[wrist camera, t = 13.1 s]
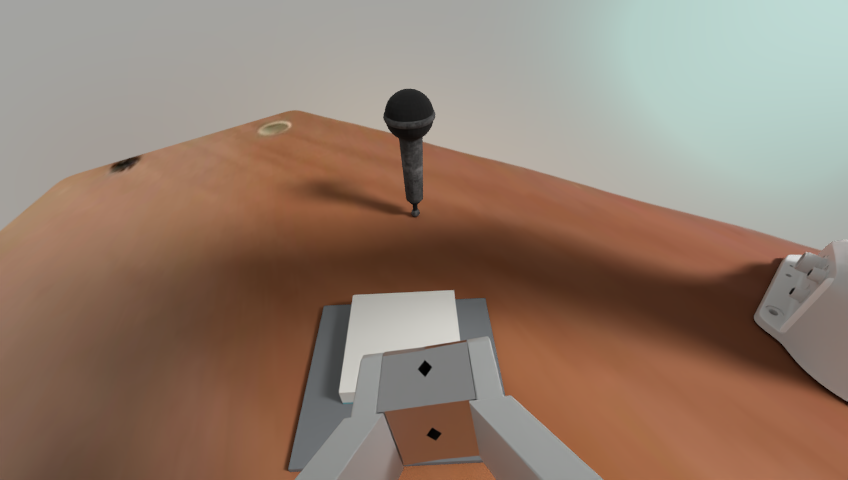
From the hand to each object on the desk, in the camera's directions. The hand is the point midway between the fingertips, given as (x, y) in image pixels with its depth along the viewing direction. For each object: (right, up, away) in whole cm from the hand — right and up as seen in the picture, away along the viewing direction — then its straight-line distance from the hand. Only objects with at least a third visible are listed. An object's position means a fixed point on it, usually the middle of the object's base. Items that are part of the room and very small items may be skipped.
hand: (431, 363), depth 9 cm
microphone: (-1, +7, +51) cm, 52 cm away
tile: (-2, -12, +27) cm, 29 cm away
